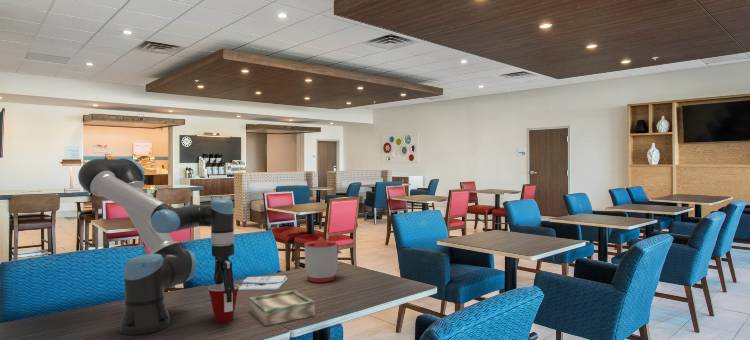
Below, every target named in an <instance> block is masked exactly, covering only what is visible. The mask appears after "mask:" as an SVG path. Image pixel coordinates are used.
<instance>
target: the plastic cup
mask: <svg viewBox="0 0 750 340" xmlns="http://www.w3.org/2000/svg"><path fill="white" fill-rule="evenodd" d="M239 287H241V284H237V283H234V289H235V291H233V311H229V312H224V293H223V291H225V290H224V283H221V284H218V285H217V284H214V285H210V286H207V288H206V289H207V291H208V292H209V297H210V301H211V307H212V311H213V315H214V316H213V317H214V320H215V322H216V323H220V324H222V323H223V324H224V323H229V322H231V321H233V319H234V317H235V316H234V315H235V308H236V303H237V296H238V292H239V290H238V289H239ZM228 289H229V288H228Z"/></svg>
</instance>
